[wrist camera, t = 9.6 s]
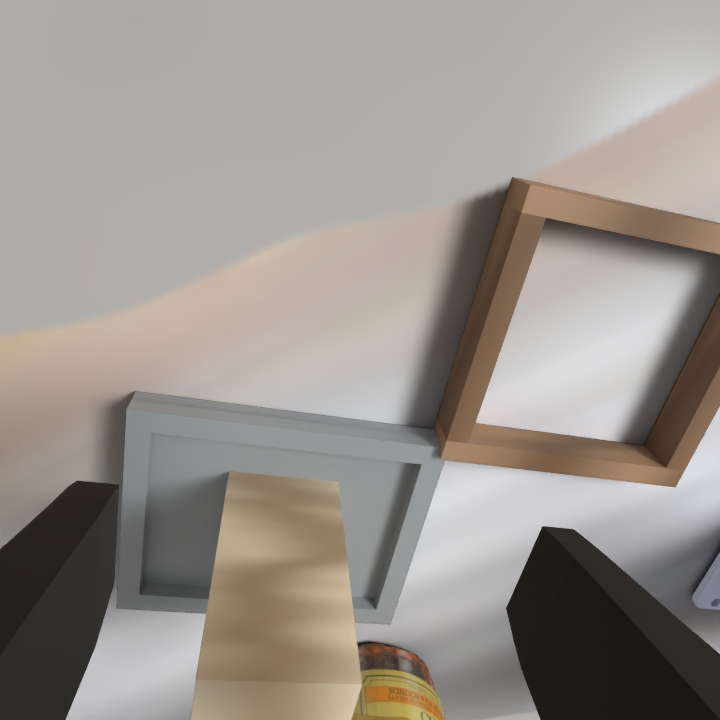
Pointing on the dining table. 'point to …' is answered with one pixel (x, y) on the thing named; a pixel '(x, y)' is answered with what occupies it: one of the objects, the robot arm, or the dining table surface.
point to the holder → (491, 321)
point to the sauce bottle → (395, 686)
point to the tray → (268, 457)
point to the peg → (279, 606)
